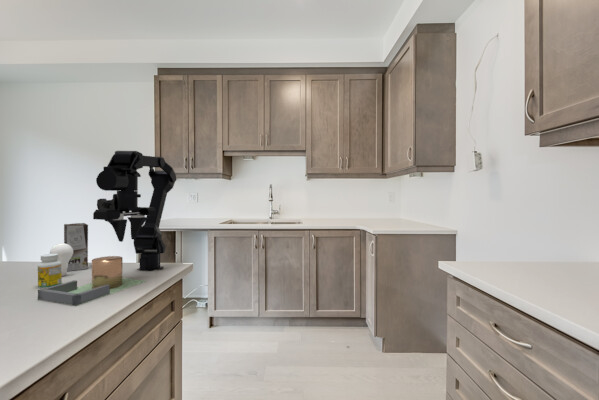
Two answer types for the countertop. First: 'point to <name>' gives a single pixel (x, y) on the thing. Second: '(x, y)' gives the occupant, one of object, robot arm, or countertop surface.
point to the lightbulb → (63, 255)
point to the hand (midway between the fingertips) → (127, 240)
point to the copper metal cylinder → (107, 271)
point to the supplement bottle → (49, 271)
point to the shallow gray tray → (63, 296)
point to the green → (125, 284)
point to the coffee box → (77, 245)
